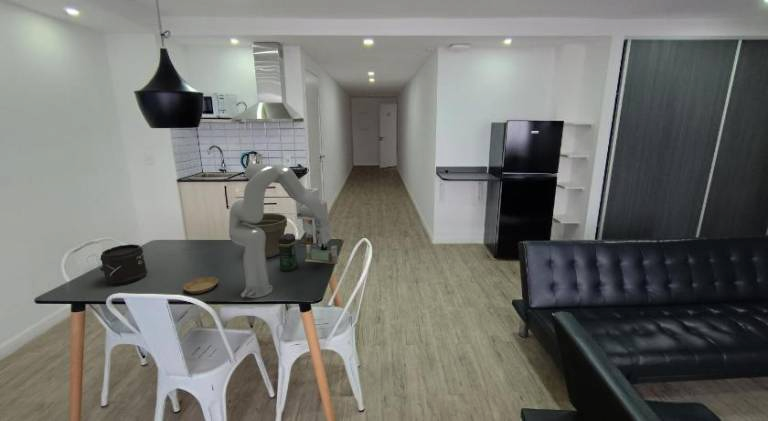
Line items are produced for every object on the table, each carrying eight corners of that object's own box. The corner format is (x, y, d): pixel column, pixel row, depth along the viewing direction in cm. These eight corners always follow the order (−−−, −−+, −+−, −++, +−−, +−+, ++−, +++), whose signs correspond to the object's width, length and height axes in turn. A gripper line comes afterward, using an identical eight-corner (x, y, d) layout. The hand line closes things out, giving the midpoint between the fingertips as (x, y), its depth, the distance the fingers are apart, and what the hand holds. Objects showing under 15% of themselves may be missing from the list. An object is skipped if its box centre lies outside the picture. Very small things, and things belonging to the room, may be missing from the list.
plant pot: (296, 253, 206) (294, 219, 200) (255, 265, 190) (251, 227, 185) (279, 243, 224) (276, 211, 219) (240, 252, 209) (236, 218, 203)
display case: (306, 239, 230) (303, 188, 221) (321, 240, 228) (318, 188, 219) (299, 245, 219) (295, 191, 210) (315, 246, 217) (311, 192, 208)
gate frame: (336, 264, 190) (335, 248, 188) (305, 261, 195) (303, 245, 192) (338, 261, 194) (338, 245, 192) (308, 258, 199) (307, 243, 196)
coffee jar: (291, 271, 181) (289, 238, 177) (278, 270, 183) (274, 237, 178) (299, 264, 190) (297, 232, 186) (286, 263, 192) (283, 231, 187)
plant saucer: (176, 294, 160) (175, 289, 159) (199, 280, 173) (199, 275, 173) (203, 297, 156) (203, 292, 156) (225, 282, 170) (224, 278, 170)
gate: (311, 259, 195) (310, 250, 194) (312, 258, 196) (312, 249, 195) (330, 261, 192) (330, 251, 191) (331, 260, 193) (331, 250, 192)
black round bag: (104, 277, 177) (97, 248, 173) (146, 268, 188) (140, 241, 184) (103, 290, 163) (96, 259, 159) (149, 280, 174) (143, 250, 170)
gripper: (321, 227, 183) (324, 259, 188) (333, 219, 197) (336, 248, 202) (309, 226, 185) (312, 257, 190) (321, 218, 199) (324, 247, 204)
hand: (324, 253), depth 196 cm, fingers closed
